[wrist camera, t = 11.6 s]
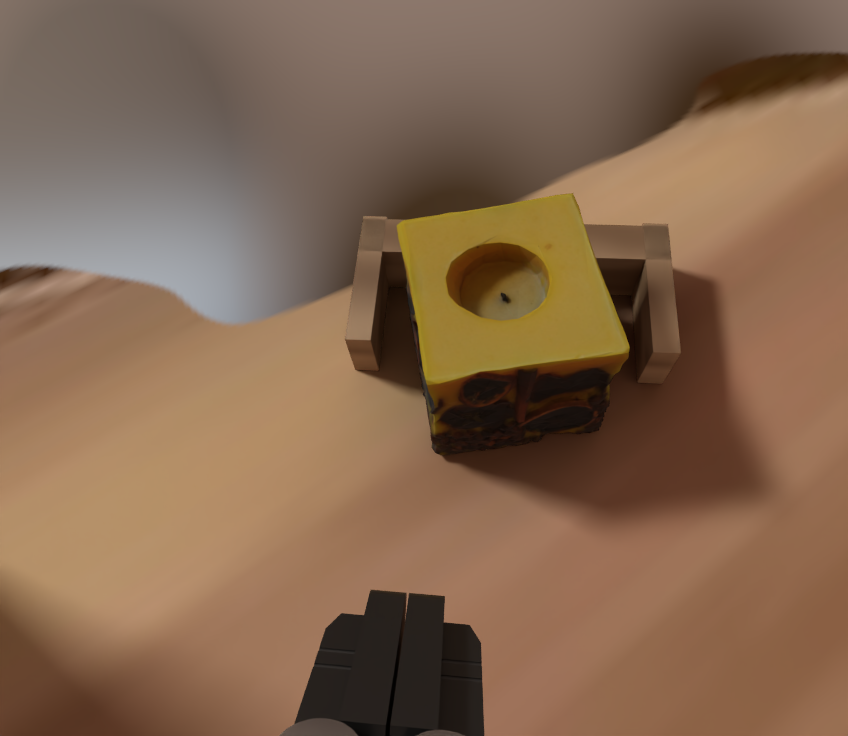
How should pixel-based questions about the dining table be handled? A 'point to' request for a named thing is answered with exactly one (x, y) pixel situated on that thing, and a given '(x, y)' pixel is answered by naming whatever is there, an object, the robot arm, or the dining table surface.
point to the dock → (618, 261)
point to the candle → (510, 323)
